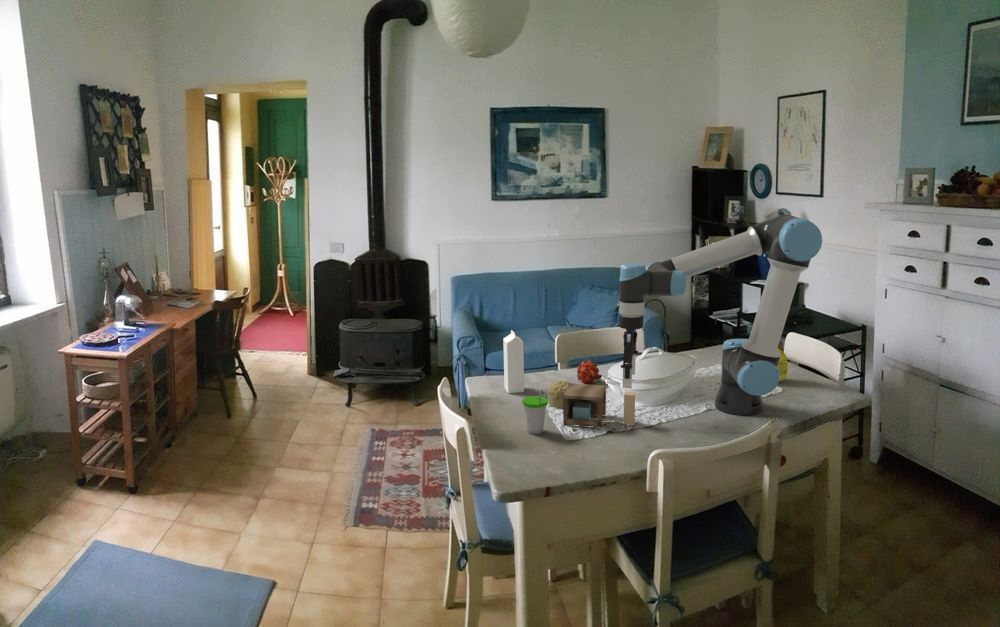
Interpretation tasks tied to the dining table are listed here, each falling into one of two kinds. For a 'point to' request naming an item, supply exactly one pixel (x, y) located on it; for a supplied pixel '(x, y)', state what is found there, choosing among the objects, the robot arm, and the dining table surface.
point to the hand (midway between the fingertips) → (628, 381)
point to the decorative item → (557, 393)
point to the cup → (535, 413)
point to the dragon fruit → (588, 372)
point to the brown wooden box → (584, 394)
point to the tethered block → (584, 412)
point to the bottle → (782, 364)
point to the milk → (513, 364)
